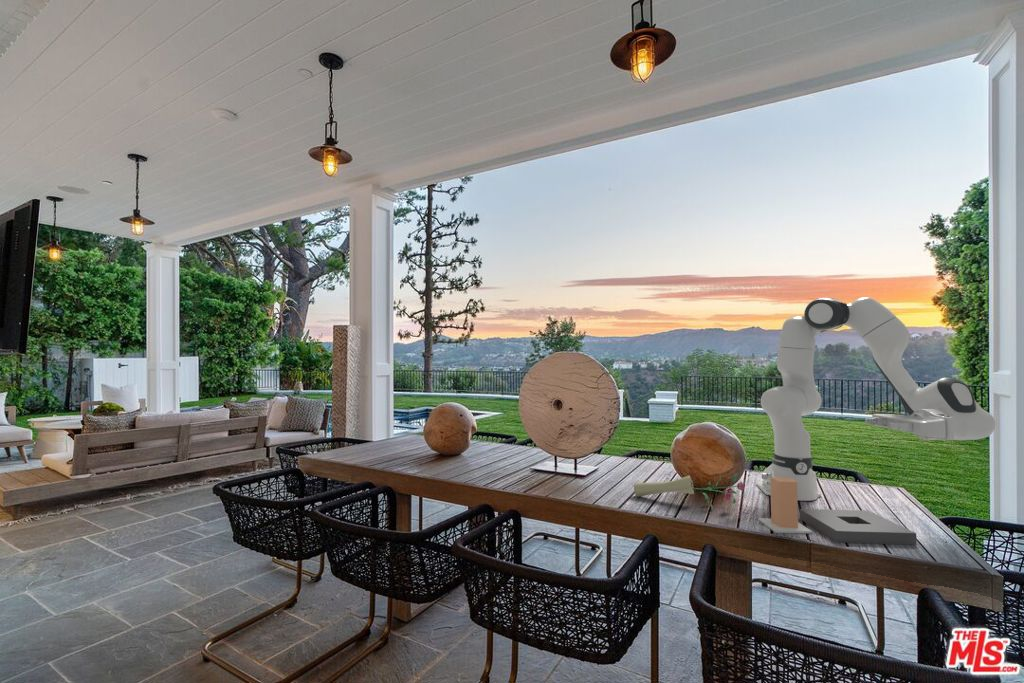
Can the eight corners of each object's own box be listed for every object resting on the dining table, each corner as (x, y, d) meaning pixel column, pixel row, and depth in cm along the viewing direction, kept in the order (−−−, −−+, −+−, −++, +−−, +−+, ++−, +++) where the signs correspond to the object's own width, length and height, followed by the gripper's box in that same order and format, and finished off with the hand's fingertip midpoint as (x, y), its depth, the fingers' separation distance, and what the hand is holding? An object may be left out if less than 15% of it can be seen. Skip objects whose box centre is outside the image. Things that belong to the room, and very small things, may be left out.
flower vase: (644, 516, 165) (752, 509, 149) (634, 515, 156) (747, 508, 139) (640, 481, 170) (743, 471, 154) (629, 478, 160) (738, 467, 144)
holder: (799, 518, 141) (799, 508, 141) (868, 520, 140) (868, 510, 140) (837, 542, 123) (836, 530, 123) (916, 544, 122) (916, 533, 122)
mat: (758, 520, 140) (758, 518, 140) (793, 520, 139) (793, 518, 139) (775, 532, 130) (775, 530, 130) (812, 533, 129) (812, 531, 129)
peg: (771, 521, 137) (770, 476, 138) (788, 521, 137) (787, 477, 138) (779, 527, 132) (779, 481, 133) (798, 527, 132) (797, 481, 133)
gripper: (900, 409, 145) (854, 409, 146) (958, 417, 125) (904, 417, 126) (900, 429, 145) (854, 429, 146) (959, 441, 125) (905, 440, 126)
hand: (878, 423), depth 136 cm, fingers open, 8 cm apart
